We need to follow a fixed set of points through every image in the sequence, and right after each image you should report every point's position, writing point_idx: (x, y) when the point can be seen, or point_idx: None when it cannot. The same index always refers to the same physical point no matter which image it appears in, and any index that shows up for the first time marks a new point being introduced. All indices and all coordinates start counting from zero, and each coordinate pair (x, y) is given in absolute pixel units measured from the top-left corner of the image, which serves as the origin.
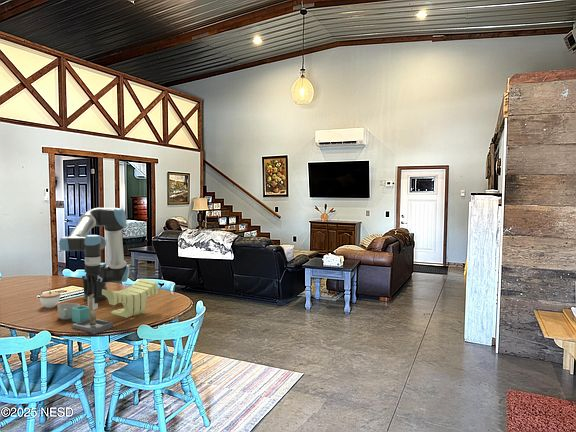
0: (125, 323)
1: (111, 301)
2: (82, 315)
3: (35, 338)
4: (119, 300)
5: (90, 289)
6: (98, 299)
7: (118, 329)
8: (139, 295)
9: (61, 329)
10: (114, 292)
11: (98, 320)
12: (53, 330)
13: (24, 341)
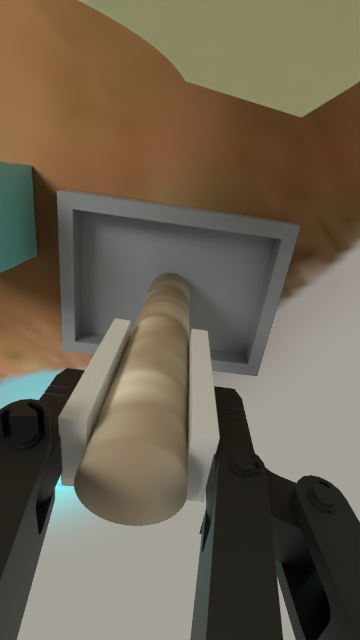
0: (337, 100)
1: (247, 81)
2: (2, 248)
3: None
4: None
5: (5, 616)
6: (247, 424)
7: (351, 246)
8: None
9: (27, 356)
10: None
11: (151, 220)
12: (7, 378)
13: None
